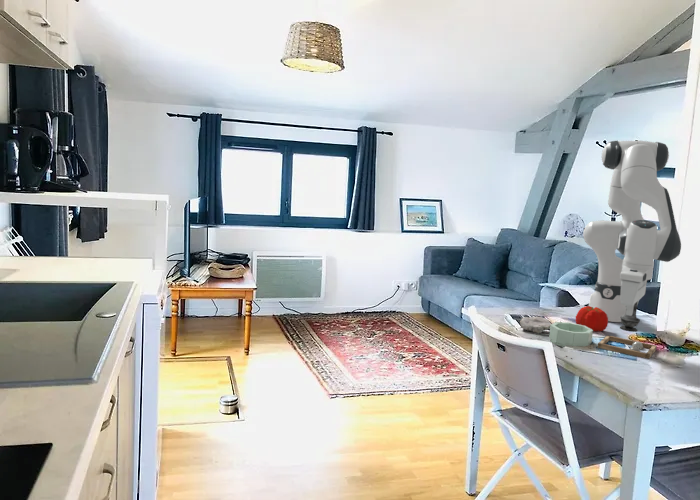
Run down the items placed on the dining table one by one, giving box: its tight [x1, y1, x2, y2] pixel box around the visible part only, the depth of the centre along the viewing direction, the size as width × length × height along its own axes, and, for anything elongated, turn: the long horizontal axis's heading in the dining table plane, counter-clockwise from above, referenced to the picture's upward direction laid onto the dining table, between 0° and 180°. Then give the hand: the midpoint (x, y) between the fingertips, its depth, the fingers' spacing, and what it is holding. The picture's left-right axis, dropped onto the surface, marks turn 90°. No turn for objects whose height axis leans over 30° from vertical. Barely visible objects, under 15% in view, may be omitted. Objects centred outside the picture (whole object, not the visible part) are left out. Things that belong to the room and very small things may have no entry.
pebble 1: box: [631, 341, 644, 350], centre depth 184 cm, size 3×3×3 cm
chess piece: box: [619, 301, 641, 333], centre depth 181 cm, size 6×6×12 cm
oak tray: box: [597, 334, 657, 360], centre depth 182 cm, size 13×15×2 cm
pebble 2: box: [629, 346, 641, 352], centre depth 177 cm, size 3×3×3 cm
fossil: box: [519, 316, 552, 334], centre depth 201 cm, size 9×6×10 cm
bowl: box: [548, 321, 594, 348], centre depth 188 cm, size 12×12×6 cm
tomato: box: [575, 305, 609, 332], centre depth 204 cm, size 11×11×9 cm
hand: (630, 313), depth 181 cm, fingers closed on chess piece, 3 cm apart
